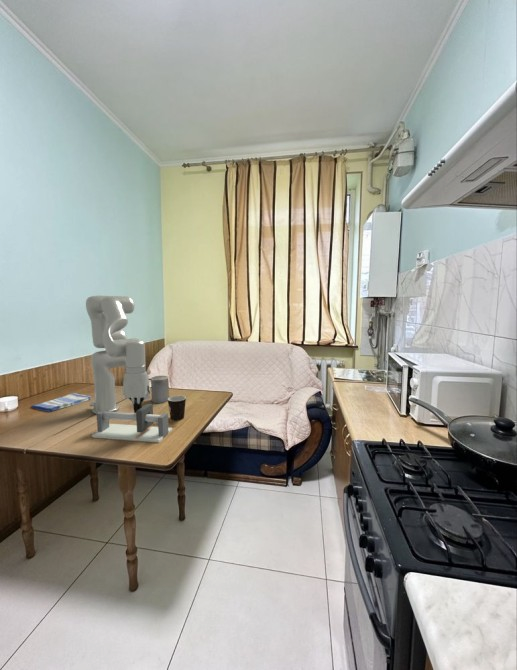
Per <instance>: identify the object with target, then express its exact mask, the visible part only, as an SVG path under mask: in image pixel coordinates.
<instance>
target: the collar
mask: <svg viewBox="0 0 517 670" xmlns="http://www.w3.org/2000/svg"><path fill="white" fill-rule="evenodd" d="M146 414H153V415H154V403H147V404H145V405H142V408H140V409H139V410H137V411H136V420H137V421H136V425H137V432H144V431H145V430H146V429H148V428H149V427H150V426H153V425H154V422H147V421H146V422H145V415H146Z"/></svg>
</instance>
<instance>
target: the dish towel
mask: <svg viewBox="0 0 517 670" xmlns="http://www.w3.org/2000/svg"><path fill="white" fill-rule="evenodd" d="M90 400H92V396H90V395H85V394H78V393H77V392H76V393H75V392H72V393H69V394H67V395H64V396H61V397H57V398H54V399H51V400H47V401H43V402H41V403H37V404H33V405H31V406H30V408H32V409H34V408H35V410H39V411H44V412H48V413H50V412H51V413H52V412H55V411H58V410H62V409H66V408H68V407H71V406H75V405H78V404H81V403H84V402H87V401H90Z"/></svg>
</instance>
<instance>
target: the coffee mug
mask: <svg viewBox="0 0 517 670" xmlns="http://www.w3.org/2000/svg"><path fill="white" fill-rule="evenodd" d="M186 401H187V397H186V396H185V395H173V396H169V398H168V401H167V403H168V411H169V415H170V420H171V421H175V422H176V421H182V420H184V419H185V413H186Z"/></svg>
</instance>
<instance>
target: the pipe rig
mask: <svg viewBox="0 0 517 670" xmlns="http://www.w3.org/2000/svg"><path fill="white" fill-rule="evenodd" d="M110 420H120V421H134V422H137V420H136V413H133V412H120V411H118V412H117V411H114V412H109V411H108V410H103V411H101V412H99V413H97V414H96V427H97V431H96V432H94V433H93V434H91V438H95V439H97V438H98V439H110V440H120V441H121V440H123V441H135V442H149V443H160V442H162V440H164V438H166V437H167V436H168V435H169V433H170V432H172V431H173V427H169V414H168V412H163V413H162V414H154V413H153V414H146V415H145V422H146V421H147V422H153V423H157V424H158V425H157V426H153V425H151V426H150V427H149V428H148V429H146V430H145V431H144V432H137V424H136V425H135V424H122V423H120V424H118V423H110Z"/></svg>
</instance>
